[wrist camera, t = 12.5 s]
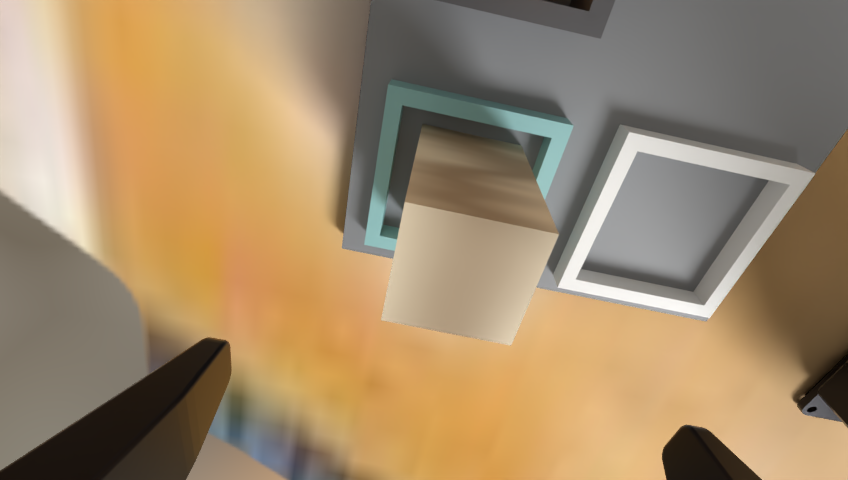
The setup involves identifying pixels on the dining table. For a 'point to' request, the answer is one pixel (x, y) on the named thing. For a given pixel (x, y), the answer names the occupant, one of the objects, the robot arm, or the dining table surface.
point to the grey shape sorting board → (613, 127)
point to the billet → (469, 238)
